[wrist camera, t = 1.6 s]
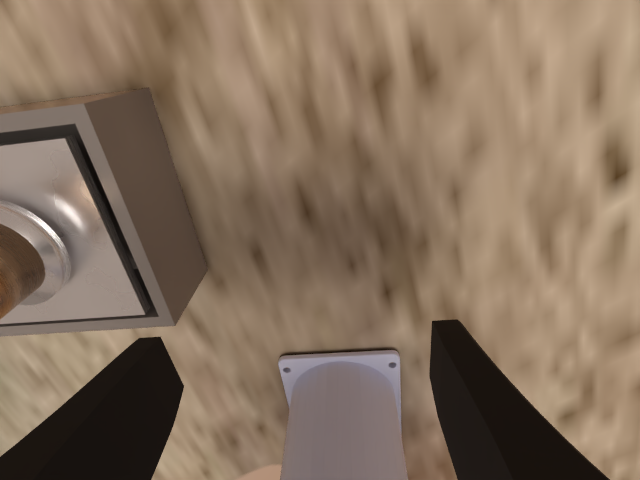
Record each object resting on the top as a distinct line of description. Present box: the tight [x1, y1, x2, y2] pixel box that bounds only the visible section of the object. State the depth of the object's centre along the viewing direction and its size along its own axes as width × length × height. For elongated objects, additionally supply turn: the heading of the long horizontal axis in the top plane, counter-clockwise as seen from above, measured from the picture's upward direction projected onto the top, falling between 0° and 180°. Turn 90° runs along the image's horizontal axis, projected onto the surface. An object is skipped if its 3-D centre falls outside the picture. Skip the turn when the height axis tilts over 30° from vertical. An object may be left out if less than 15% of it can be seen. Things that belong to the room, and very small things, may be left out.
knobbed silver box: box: [0, 88, 208, 336], centre depth 17 cm, size 10×12×5 cm
